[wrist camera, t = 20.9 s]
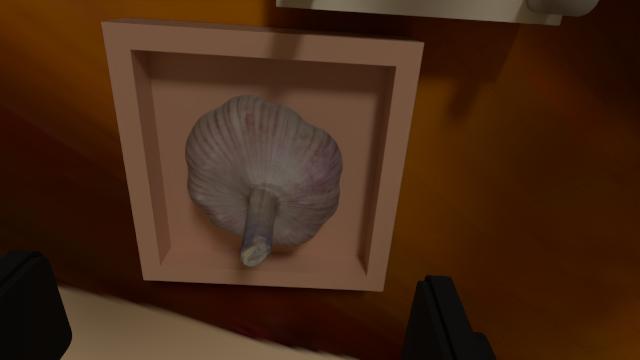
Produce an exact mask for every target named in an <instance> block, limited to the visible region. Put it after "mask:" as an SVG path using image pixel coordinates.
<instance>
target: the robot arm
mask: <svg viewBox="0 0 640 360" xmlns="http://www.w3.org/2000/svg"><path fill="white" fill-rule="evenodd" d="M71 340H72V331H71V328H70V325H69V321H68V318H67V315H66V312H65V309H64V306H63V303H62V300H61V297H60V294H59V290H58V287H57V284H56V281H55V278H54V274H53V271H52V268H51V265H50V262H49V260H48V259H47V258H44V256H43V254H42V253H41V252H38V251H27V250H12V251H10V252H8V253H7V254H5V255H4V256H3V257H2V258H1V259H0V360H60V359H61V357H62V356H63V355H64V353H65V352H66V350H67V349H68V347H69V345H70V343H71ZM401 360H497V359H496V357H495V355H494V353H493V350H492V348H491V346H490V343H489V341H488V340H487V338H486V336H485V335H484V334H483V333H479V332H473V331H472V328H471V326H470V323H469V321H468V318H467V316H466V313H465V311H464V308H463V306H462V303H461V301H460V298H459V296H458V293H457V291H456V288H455V286H454V283H453V281H452V279H451V278H450V277H448V276H432V275H427V276H426V277H425V280H424V281H418V283H417V287H416V291H415V295H414V300H413V304H412V309H411V313H410V318H409V322H408V326H407V331H406V335H405V340H404V344H403V348H402V353H401Z"/></svg>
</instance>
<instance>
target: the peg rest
mask: <svg viewBox="0 0 640 360" xmlns="http://www.w3.org/2000/svg"><path fill="white" fill-rule="evenodd" d="M598 1H599V0H276V7H289V8H304V9H319V10H334V11H349V12H364V13H379V14H394V15H409V16H424V17H439V18H454V19H469V20H484V21H499V22H514V23H528V24H543V25H558V26H560V22H561V19H562V16H563V15H564V16H574V17H578V16H583V15H585V14H587V13H589V12H590V11H591V10H592V9H593V8H594V7H595V6H596V5H597V3H598Z"/></svg>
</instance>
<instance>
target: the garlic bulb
mask: <svg viewBox="0 0 640 360" xmlns="http://www.w3.org/2000/svg"><path fill="white" fill-rule="evenodd" d="M185 159H186V162H187V166H188V180H187V189H188V194H189V196H190V198H191V200H192V201H193V202H194V203H195V204H196V205H198V206H199V207H200V208H201V209H203V210H204V212H205V213H206V214H207V216H208V218H209V219H210V221H211V222H212V223H213V224H214V225H215V226H216V227H218V228H220V229H222V230H225V231H228V232H230V233H232V234H234V235H236V236H237V237H239V238H240V239H241V240H242V246H241V250H240V260H241V261H242V262H243V264H244V265H247V266H251V267H252V266H256V265H258V264H260V263H262V262H263V261H264V260H265V259H266V258H267V257H268V255H269V254H270V253H271V251H272V247H273V246H274V245H276V246H286V247H293V246H298V245H301V244H304V243H306V242H307V241H309V240H311V239H312V238H313V237H314V236H315V235H316V233H317V232H318V231H319V229H320V228H321V227H322V225H323V224H324V223H325V222H326V221H327V220H329V219H330V218H331V217H332V216H333V215H334V213H335V212H336V210H337V208H338V204H339V196H340V187H339V182H340V177H341V173H342V170H343V160H342V154H341V151H340V149H339V147H338V145H337V143H336V141H335V140H334V139H333V138H332V137H331V135H329V134H328V133H327V132H326V131H324V130H323V129H321V128H318V127H315V126H313V125H310V124H308V123H307V122H305V121H304V120H303V119H302V118H301V116H300V115H299V114H297V113H296V112H295V111H293V110H291V109H290V108H288V107H285V106H282V105H276V104H272V103H269V102H266V101H265V100H263V99H261V98H259V97H256V96H253V95H240V96H235V97H233V98H231V99H229V100H228V101H227V102H225V103H224V104H223V105H221V106H220V107H218V108H217V109H214V110H212V111H209V112H207V113H206V114H204V115H202V116H201V117H200V118H199V119H198V120H197V122H196V123H195V125H194V126H193V128H192V130H191V132H190V134H189V136H188V138H187V141H186V146H185Z"/></svg>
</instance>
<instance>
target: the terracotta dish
mask: <svg viewBox="0 0 640 360" xmlns="http://www.w3.org/2000/svg"><path fill="white" fill-rule="evenodd" d="M101 24H102V30H103V36H104V42H105V48H106V54H107V60H108V67H109V73H110V79H111V85H112V91H113V97H114V103H115V109H116V115H117V121H118V127H119V133H120V139H121V145H122V151H123V157H124V163H125V170H126V176H127V182H128V188H129V194H130V200H131V206H132V212H133V218H134V224H135V230H136V236H137V242H138V248H139V254H140V260H141V267H142V273H143V279H144V280H155V281H176V282H197V283H218V284H239V285H260V286H281V287H302V288H323V289H344V290H365V291H383V288H384V282H385V276H386V270H387V264H388V258H389V252H390V246H391V240H392V234H393V228H394V222H395V216H396V210H397V204H398V198H399V192H400V186H401V180H402V174H403V168H404V162H405V156H406V150H407V144H408V138H409V132H410V126H411V120H412V114H413V108H414V102H415V96H416V90H417V84H418V78H419V72H420V66H421V60H422V54H423V48H424V42H422V41H420V40H418V39H416V38H414V37H412V36H399V35H383V34H368V33H353V32H338V31H322V30H307V29H292V28H276V27H261V26H246V25H230V24H215V23H200V22H185V21H169V20H154V19H139V18H124V19H117V20H110V21H103V22H101ZM240 95H253V96H256V97H259V98H261V99H263V100H265V101H266V102H269V103H272V104H276V105H282V106H285V107H288V108H290V109H291V110H293V111H295V112H296V113H297V114H299V115H300V116H301V118H302V119H303V120H304V121H305V122H307V123H308V124H310V125H313V126H315V127H318V128H321V129H323V130H324V131H326V132H327V133H328V134H329V135H331V137H332V138H333V139H334V140H335V141H336V143H337V145H338V147H339V149H340V151H341V154H342V160H343V170H342V173H341V177H340V182H339V187H340V196H339V204H338V208H337V210H336V212H335V213H334V215H333V216H332V217H331V218H330V219H329V220H327V221H326V222H325V223H324V224H323V225H322V227H321V228H320V229H319V231H318V232H317V233H316V235H315V236H314V237H313V238H312V239H311V240H309V241H307V242H306V243H304V244H301V245H298V246H293V247H286V246H276V245H274V246H273V247H272V251H271V253H270V254H269V255H268V257H267V258H266V259H265V260H264V261H263V262H262V263H260V264H258V265H256V266H252V267H251V266H247V265H244V264H243V262H242V261H241V260H240V250H241V246H242V240H241V239H240V238H239V237H237V236H236V235H234V234H232V233H230V232H228V231H225V230H222V229H220V228H218V227H216V226H215V225H214V224H213V223H212V222H211V221H210V219H209V218H208V216H207V214H206V213H205V212H204V210H203V209H201V208H200V207H199V206H198V205H196V204H195V203H194V202H193V201H192V200H191V198H190V196H189V194H188V189H187V180H188V166H187V162H186V159H185V146H186V141H187V138H188V136H189V134H190V132H191V130H192V128H193V126H194V125H195V123H196V122H197V120H198V119H199V118H200V117H201V116H202V115H204V114H206V113H207V112H209V111H212V110H214V109H217V108H218V107H220V106H221V105H223V104H224V103H225V102H227V101H228V100H229V99H231V98H233V97H235V96H240Z"/></svg>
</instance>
